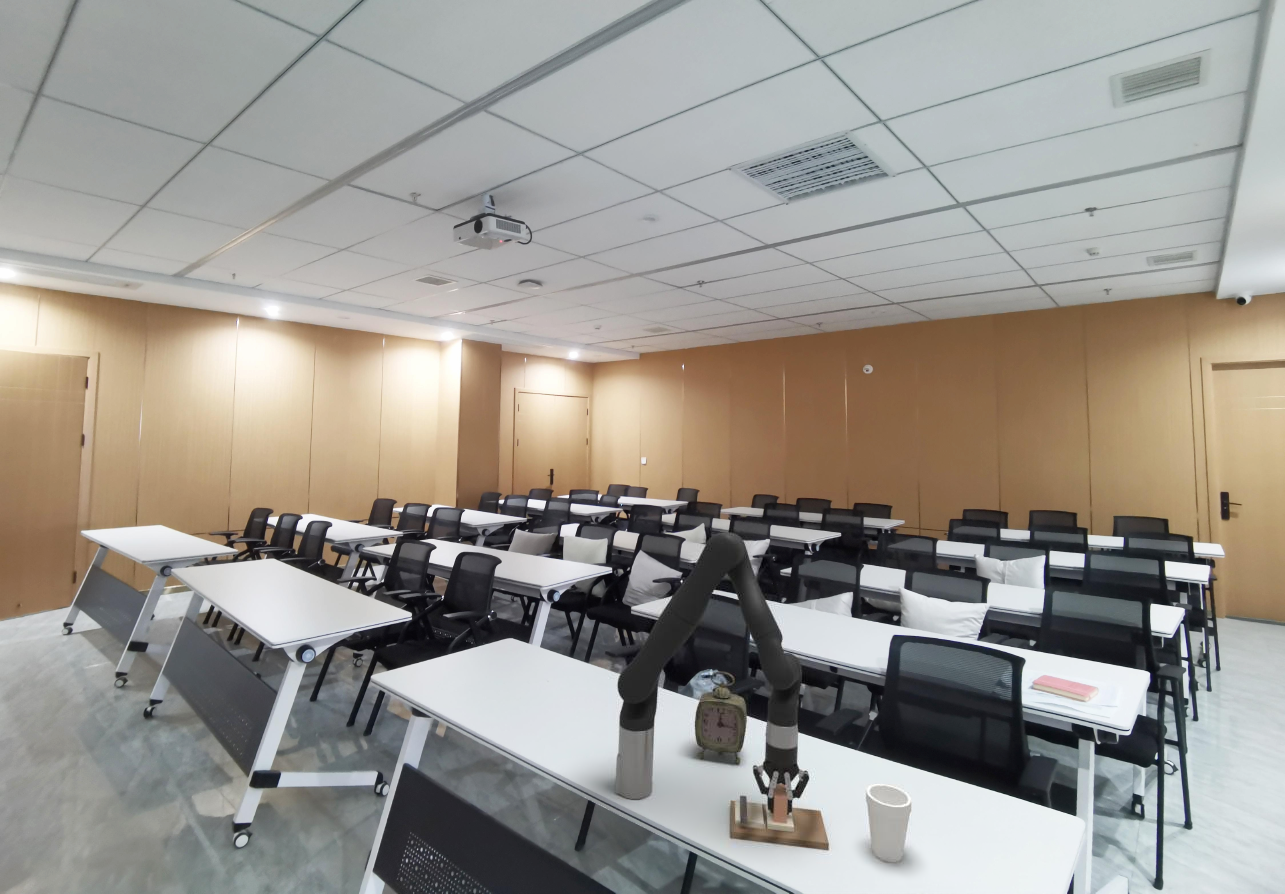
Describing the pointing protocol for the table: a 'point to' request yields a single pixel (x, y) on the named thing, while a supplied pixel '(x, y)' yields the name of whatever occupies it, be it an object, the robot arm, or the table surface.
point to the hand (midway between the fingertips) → (779, 811)
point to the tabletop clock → (721, 720)
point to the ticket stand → (753, 826)
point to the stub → (780, 811)
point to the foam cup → (888, 820)
